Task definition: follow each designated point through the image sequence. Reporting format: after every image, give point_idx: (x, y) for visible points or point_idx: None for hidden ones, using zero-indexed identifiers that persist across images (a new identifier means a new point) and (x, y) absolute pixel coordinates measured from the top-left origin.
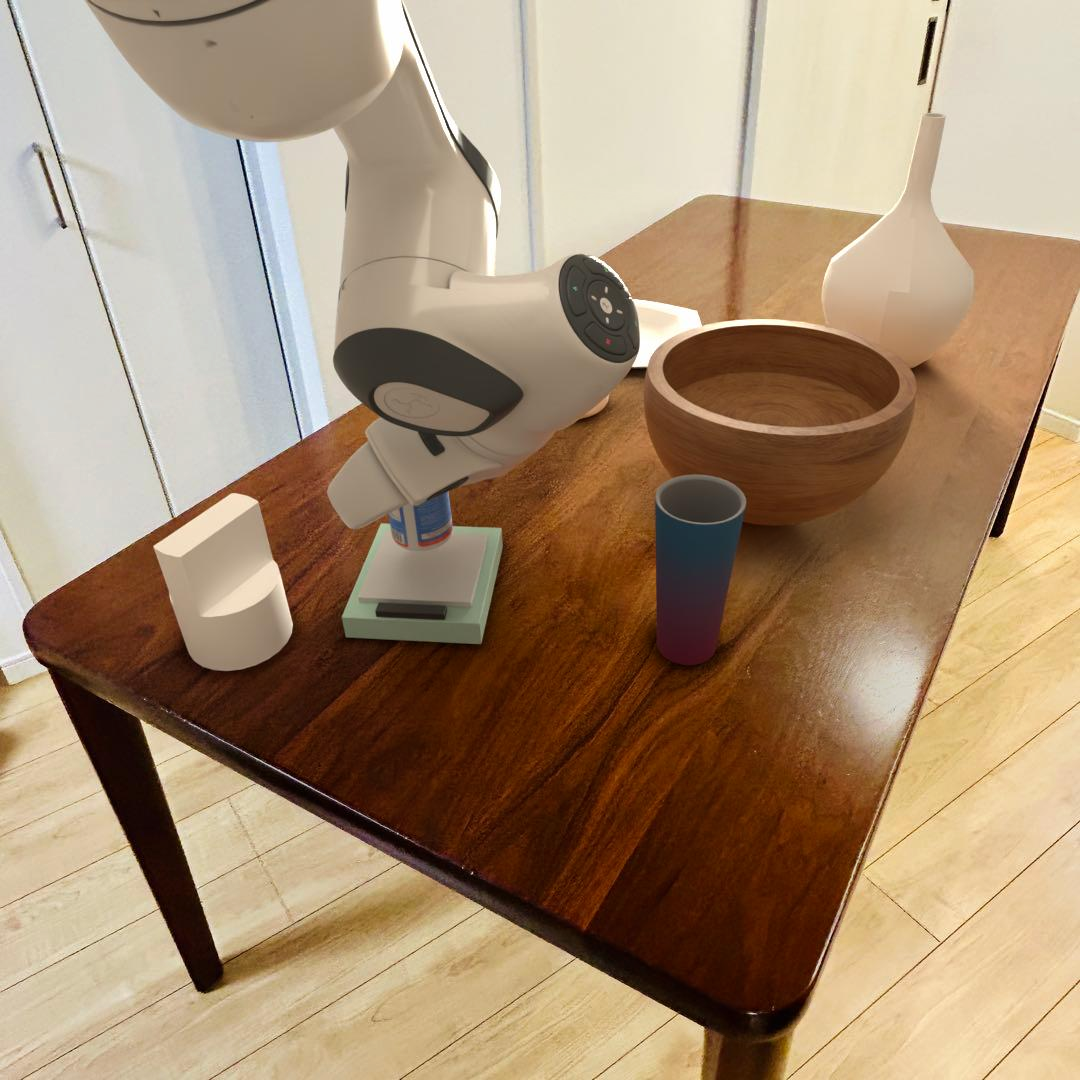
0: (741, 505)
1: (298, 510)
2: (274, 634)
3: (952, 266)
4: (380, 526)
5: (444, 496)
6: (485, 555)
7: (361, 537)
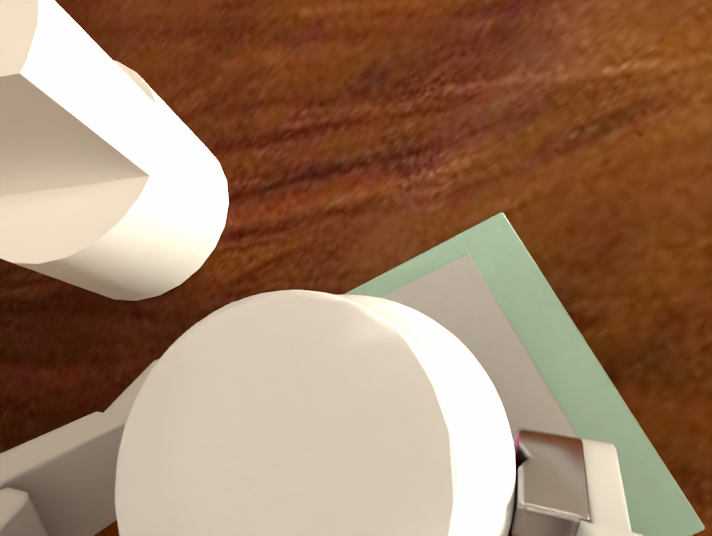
0: None
1: (482, 8)
2: (108, 290)
3: None
4: (490, 220)
5: None
6: None
7: (485, 178)
